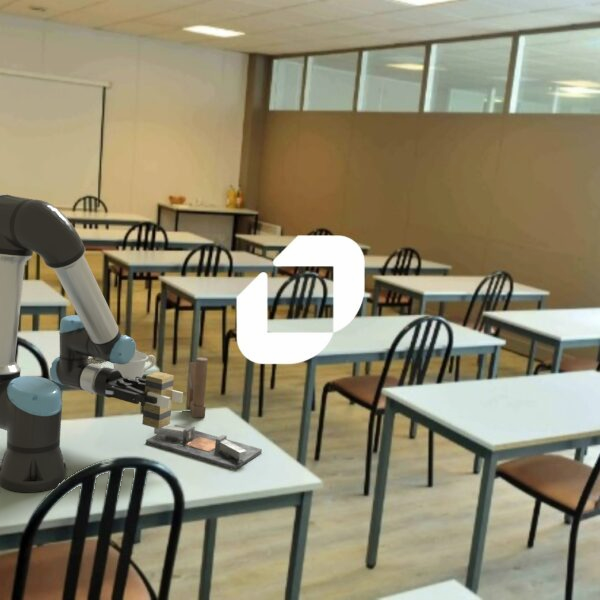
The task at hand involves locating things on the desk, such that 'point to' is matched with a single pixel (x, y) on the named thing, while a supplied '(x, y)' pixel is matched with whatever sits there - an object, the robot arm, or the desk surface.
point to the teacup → (135, 366)
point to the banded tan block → (161, 386)
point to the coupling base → (203, 446)
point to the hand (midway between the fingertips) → (175, 400)
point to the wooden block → (197, 387)
